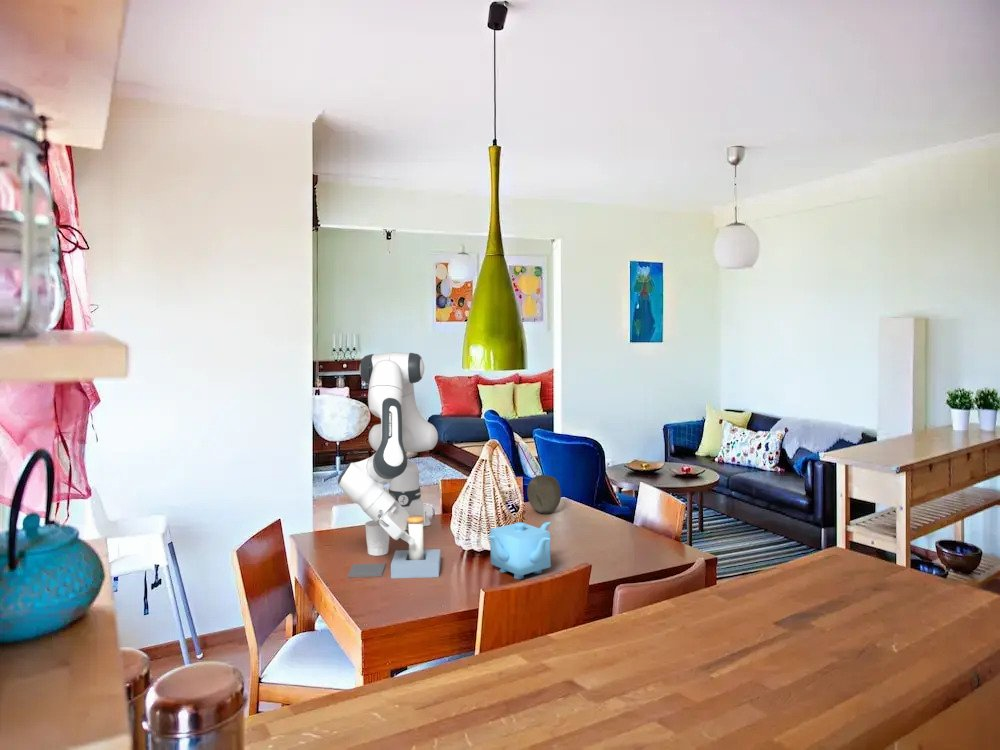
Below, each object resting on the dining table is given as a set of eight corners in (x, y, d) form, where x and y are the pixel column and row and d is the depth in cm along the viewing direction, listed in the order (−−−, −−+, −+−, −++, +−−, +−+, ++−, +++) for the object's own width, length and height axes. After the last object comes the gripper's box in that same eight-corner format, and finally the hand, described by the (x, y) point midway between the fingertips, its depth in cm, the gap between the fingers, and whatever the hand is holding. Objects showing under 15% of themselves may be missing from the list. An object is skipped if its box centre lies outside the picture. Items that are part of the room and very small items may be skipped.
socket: (396, 562, 218) (395, 550, 218) (440, 561, 219) (440, 549, 218) (391, 578, 204) (390, 565, 204) (438, 577, 205) (438, 563, 204)
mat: (353, 566, 215) (353, 564, 215) (385, 565, 216) (385, 563, 216) (347, 577, 206) (347, 575, 205) (381, 576, 206) (381, 574, 206)
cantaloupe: (569, 513, 275) (568, 476, 274) (539, 519, 268) (538, 480, 267) (549, 506, 287) (548, 470, 286) (520, 511, 280) (519, 474, 279)
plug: (409, 567, 214) (407, 515, 213) (425, 566, 214) (424, 515, 213) (407, 572, 209) (406, 519, 208) (424, 572, 209) (423, 519, 208)
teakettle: (494, 561, 219) (493, 515, 218) (553, 562, 216) (553, 515, 216) (486, 582, 200) (485, 532, 199) (551, 583, 198) (550, 533, 197)
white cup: (392, 549, 232) (392, 519, 232) (386, 556, 224) (385, 526, 224) (369, 548, 233) (369, 519, 232) (363, 556, 225) (362, 526, 225)
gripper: (384, 508, 199) (419, 540, 200) (392, 492, 220) (424, 522, 221) (369, 524, 199) (404, 556, 200) (378, 506, 220) (410, 536, 221)
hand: (414, 538), depth 211 cm, fingers open, 8 cm apart
